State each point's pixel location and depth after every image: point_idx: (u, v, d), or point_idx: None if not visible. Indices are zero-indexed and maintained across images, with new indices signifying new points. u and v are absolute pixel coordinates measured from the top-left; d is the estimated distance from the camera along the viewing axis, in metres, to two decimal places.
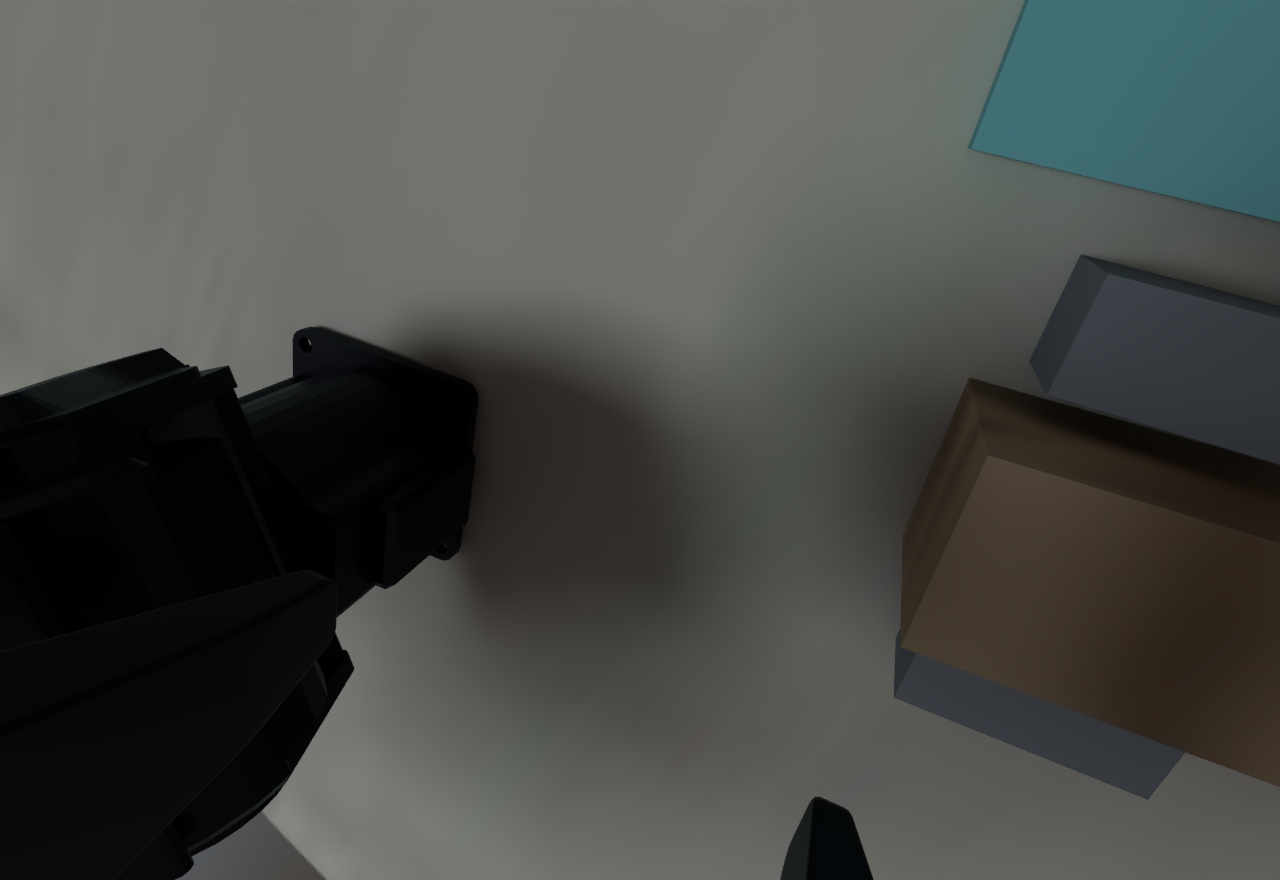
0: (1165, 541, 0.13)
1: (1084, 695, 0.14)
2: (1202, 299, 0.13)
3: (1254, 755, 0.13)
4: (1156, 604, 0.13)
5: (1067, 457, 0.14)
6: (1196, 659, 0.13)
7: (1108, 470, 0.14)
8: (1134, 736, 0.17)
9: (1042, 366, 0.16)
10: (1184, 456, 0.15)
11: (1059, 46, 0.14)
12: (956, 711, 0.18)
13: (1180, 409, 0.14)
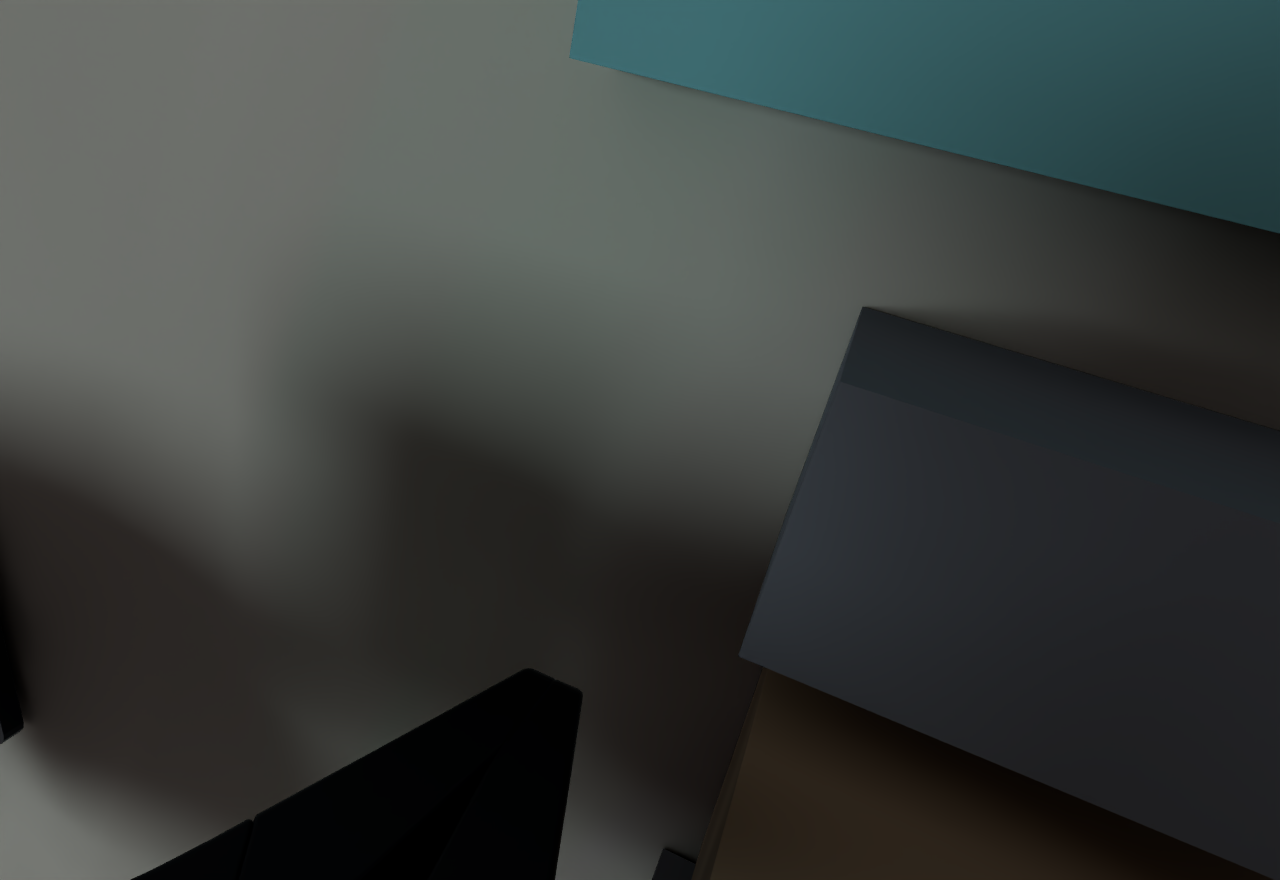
0: None
1: None
2: (1092, 467, 0.05)
3: None
4: None
5: None
6: None
7: None
8: None
9: (774, 554, 0.07)
10: None
11: None
12: None
13: (1048, 730, 0.05)
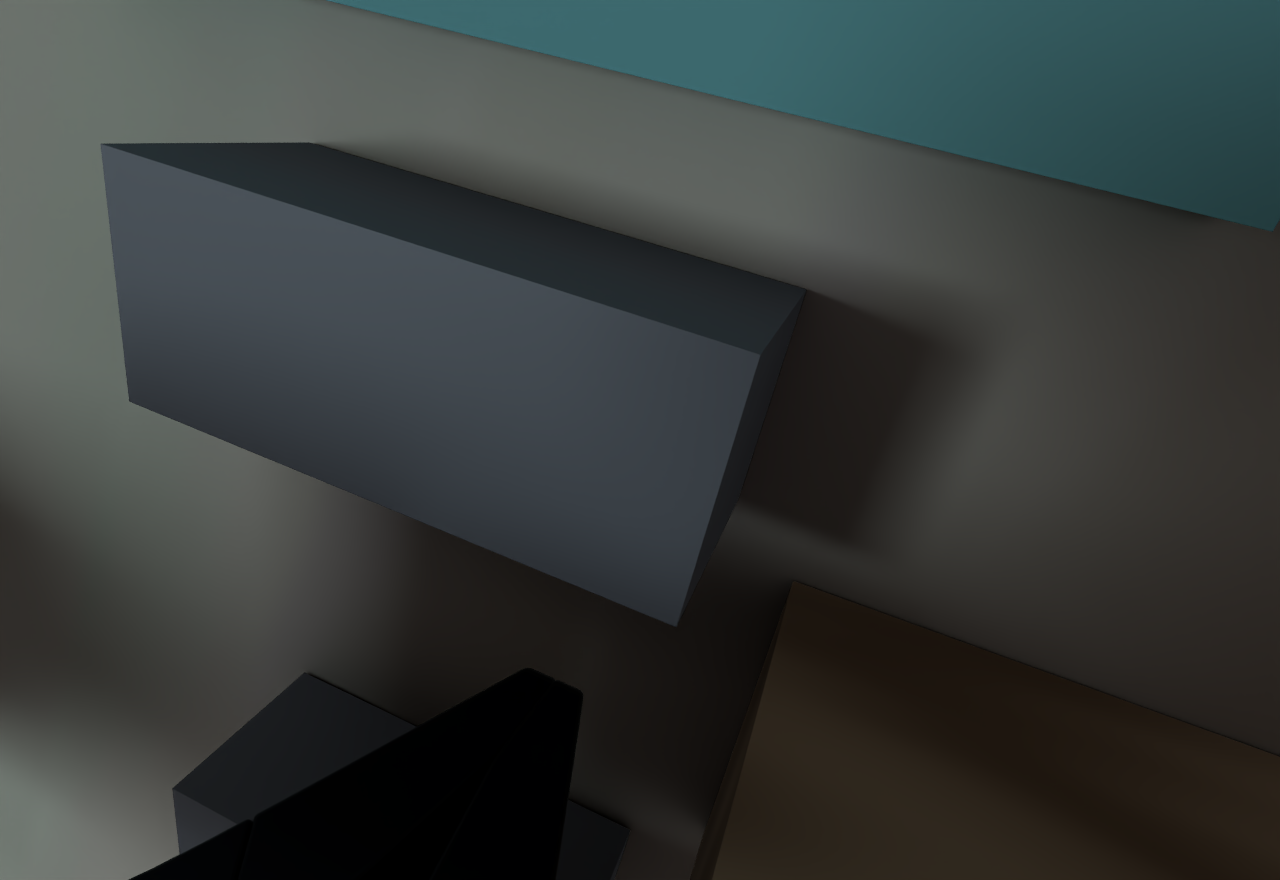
0: None
1: None
2: (249, 194, 0.06)
3: None
4: None
5: None
6: None
7: None
8: None
9: None
10: (1257, 853, 0.06)
11: None
12: None
13: (312, 433, 0.07)
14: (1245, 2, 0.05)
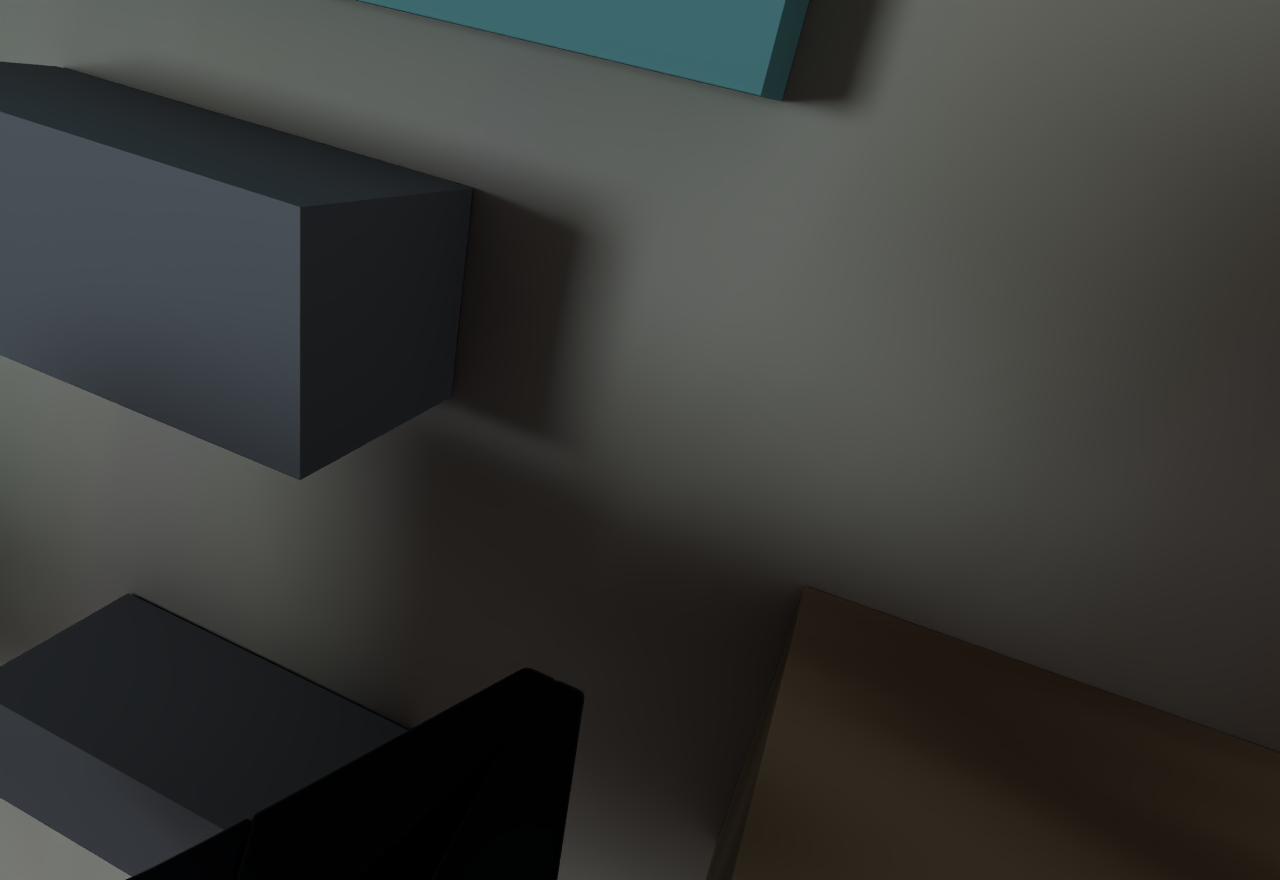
0: None
1: None
2: None
3: None
4: None
5: None
6: None
7: None
8: None
9: None
10: None
11: None
12: (61, 822, 0.11)
13: None
14: None
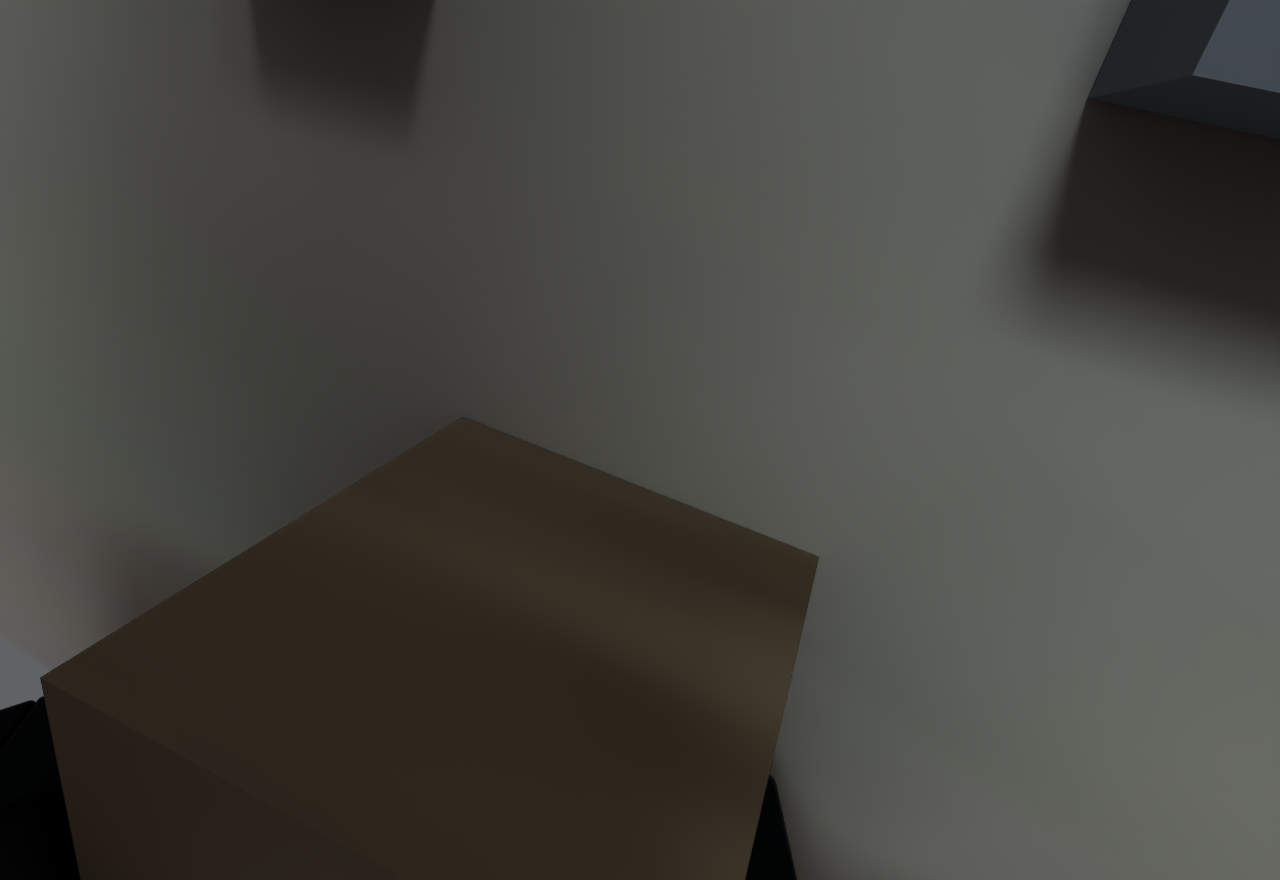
0: None
1: None
2: None
3: None
4: None
5: None
6: None
7: None
8: None
9: None
10: None
11: None
12: None
13: None
14: None
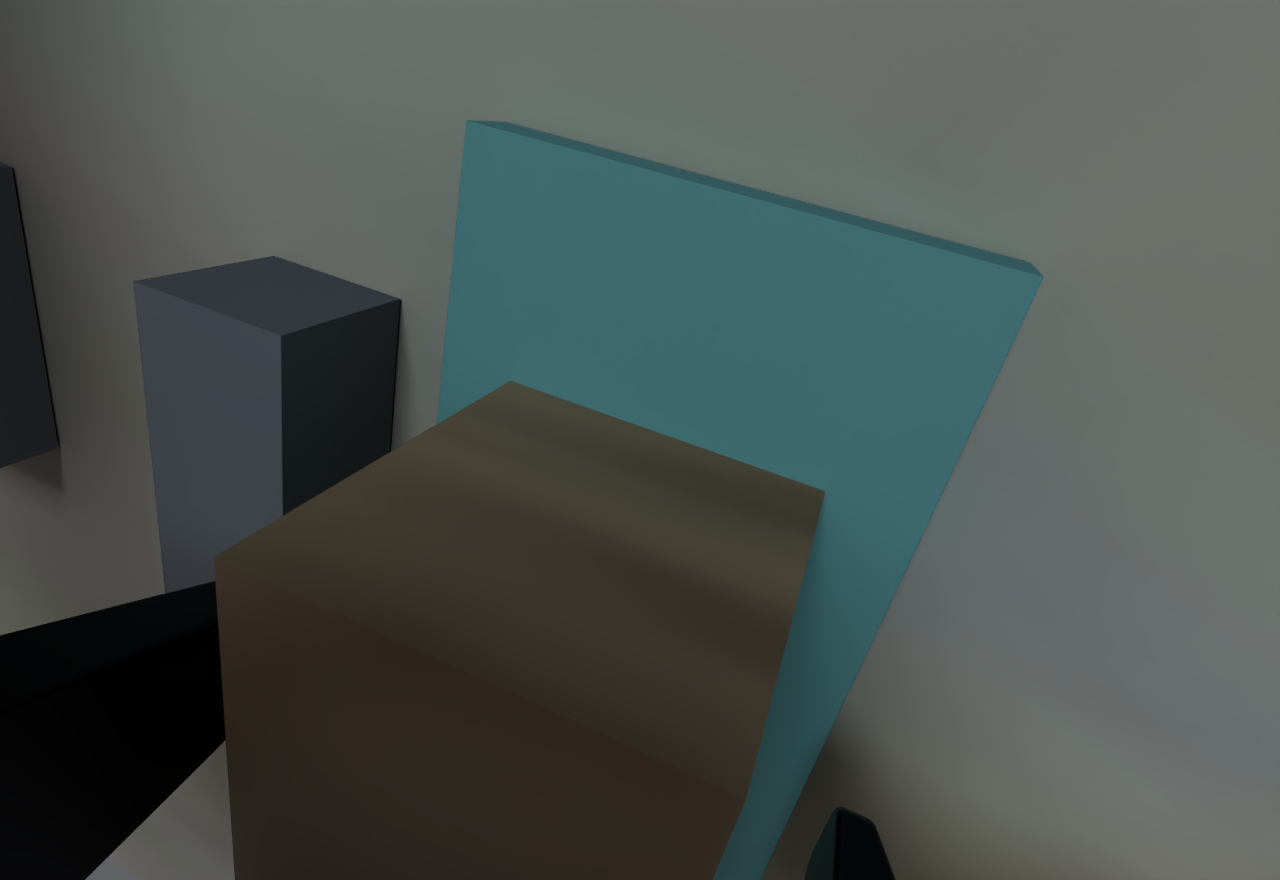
0: None
1: (265, 841, 0.07)
2: (279, 443, 0.10)
3: None
4: None
5: None
6: None
7: None
8: None
9: (226, 271, 0.11)
10: None
11: (600, 229, 0.09)
12: None
13: (172, 435, 0.11)
14: None
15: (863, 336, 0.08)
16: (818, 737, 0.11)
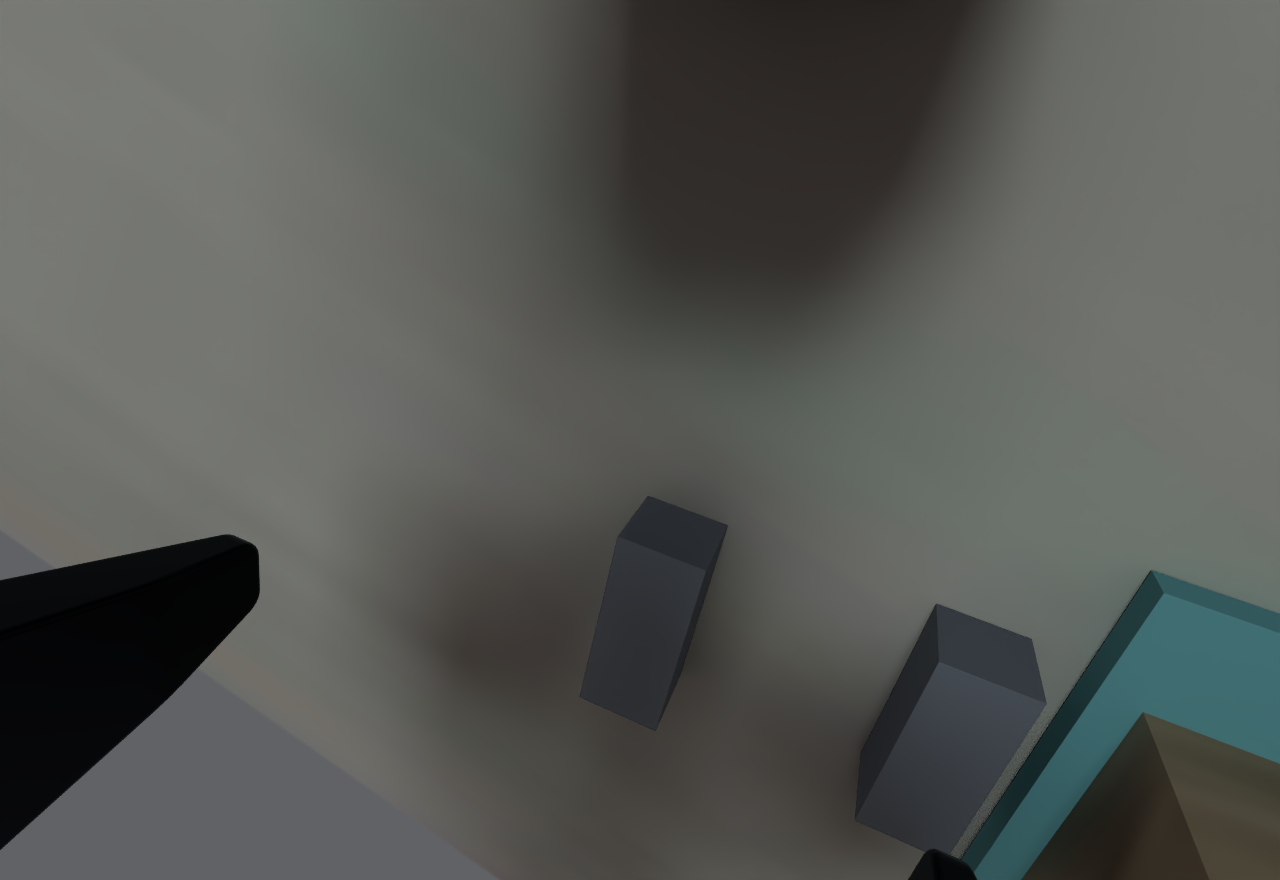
0: None
1: None
2: (1015, 751, 0.18)
3: None
4: None
5: None
6: None
7: None
8: (632, 693, 0.21)
9: (946, 633, 0.19)
10: None
11: (1240, 654, 0.17)
12: (618, 582, 0.20)
13: (922, 734, 0.18)
14: None
15: None
16: None
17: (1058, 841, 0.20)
